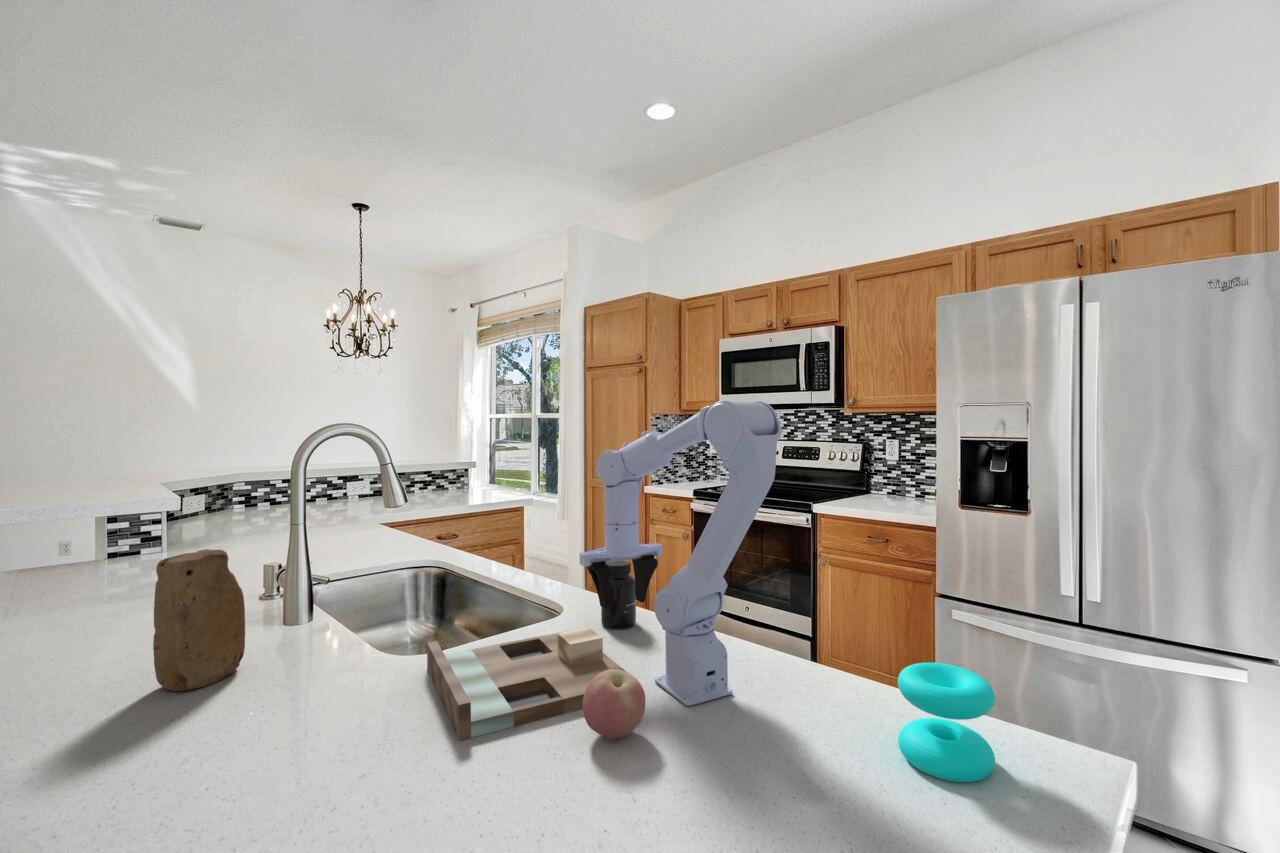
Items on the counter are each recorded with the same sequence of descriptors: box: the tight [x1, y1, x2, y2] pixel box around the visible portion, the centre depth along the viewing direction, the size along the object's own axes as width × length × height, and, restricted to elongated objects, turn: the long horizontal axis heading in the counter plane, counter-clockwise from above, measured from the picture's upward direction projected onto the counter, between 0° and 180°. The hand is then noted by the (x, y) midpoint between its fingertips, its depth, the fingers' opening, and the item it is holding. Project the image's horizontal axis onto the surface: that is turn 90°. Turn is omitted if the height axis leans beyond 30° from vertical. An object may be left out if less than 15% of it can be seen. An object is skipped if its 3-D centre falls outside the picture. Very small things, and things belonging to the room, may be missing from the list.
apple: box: [582, 669, 646, 740], centre depth 76 cm, size 8×8×8 cm
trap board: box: [426, 629, 626, 742], centre depth 92 cm, size 24×26×4 cm
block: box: [152, 549, 246, 692], centre depth 94 cm, size 11×8×20 cm
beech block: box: [557, 627, 604, 667], centre depth 96 cm, size 6×6×4 cm
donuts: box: [897, 662, 996, 783], centre depth 69 cm, size 10×10×10 cm
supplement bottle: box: [600, 560, 637, 630], centre depth 117 cm, size 7×7×12 cm
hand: (622, 603), depth 99 cm, fingers open, 6 cm apart
